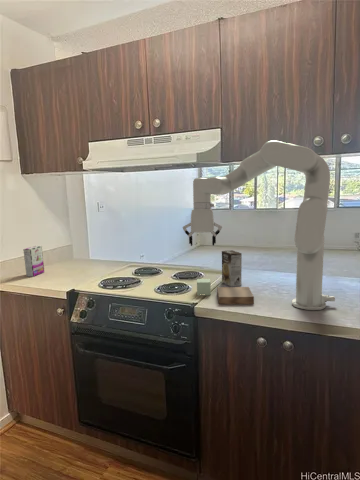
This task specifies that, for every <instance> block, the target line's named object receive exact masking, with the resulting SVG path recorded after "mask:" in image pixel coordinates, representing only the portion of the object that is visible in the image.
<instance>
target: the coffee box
mask: <svg viewBox="0 0 360 480" xmlns="http://www.w3.org/2000/svg"><path fill="white" fill-rule="evenodd" d="M242 263H243V261H242V252H239V251H235V250H222V251H221V283H223V284H225V285H227V286H228V287H240V286H242V267H243V266H242Z"/></svg>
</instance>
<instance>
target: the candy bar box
mask: <svg viewBox="0 0 360 480" xmlns="http://www.w3.org/2000/svg"><path fill="white" fill-rule="evenodd" d="M43 255H44V254H43V246H42V245H34V246H30V247H27V248H24V249H23V258H24V266H25V275H26V277H28V278H34V277H37V276H39V275H41V274H43V273H45V266H44V264H45V263H44V256H43Z"/></svg>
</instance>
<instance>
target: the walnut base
mask: <svg viewBox="0 0 360 480" xmlns="http://www.w3.org/2000/svg"><path fill="white" fill-rule="evenodd" d="M216 290H217V291H216V293H217V294H216V295H217V301H218V304H219V305H254V304H255V297H254V294H253V292H252V291H251V289H250V287H249V286H232V287H230V286H221V287H219V286H218V287H216Z"/></svg>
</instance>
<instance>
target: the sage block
mask: <svg viewBox="0 0 360 480" xmlns="http://www.w3.org/2000/svg"><path fill="white" fill-rule="evenodd" d="M211 291H212V290H211V279H210V278H196V295H197V296H201V295H200V294H205V295H204V296H211V295H212V294H211Z"/></svg>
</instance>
